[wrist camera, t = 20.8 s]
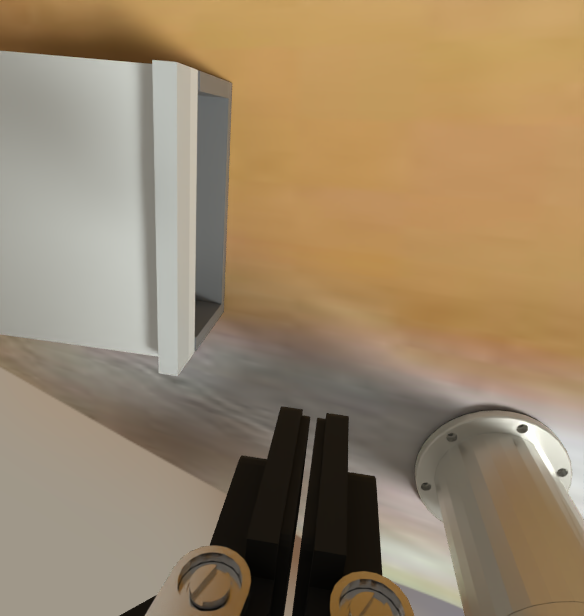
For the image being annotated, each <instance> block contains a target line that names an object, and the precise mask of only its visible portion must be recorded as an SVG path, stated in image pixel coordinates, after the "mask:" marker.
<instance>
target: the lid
mask: <svg viewBox="0 0 584 616" xmlns="http://www.w3.org/2000/svg"><path fill="white" fill-rule="evenodd" d="M197 103H198V70H196V69H194V68H191V67H188V66H186V65H183V64H181V63H178V62H170V61H159V60H152V64H147V63H135V62H124V61H112V60H101V59H90V58H78V57H67V56H55V55H44V54H32V53H21V52H10V51H0V334H1V335H8V336H15V337H22V338H29V339H36V340H43V341H50V342H57V343H65V344H72V345H79V346H86V347H93V348H100V349H107V350H114V351H121V352H129V353H136V354H143V355H150V356H157V357H158V369H159V374H166V375H173V376H178V375H179V374H180V372H181V371H182V369H183V368H184V367H185V365H186V364H187V362H188V361H189V360H190V358H191V357H192V355H193V354H194V346H195V265H196V184H197Z"/></svg>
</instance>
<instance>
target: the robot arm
mask: <svg viewBox="0 0 584 616" xmlns="http://www.w3.org/2000/svg"><path fill="white" fill-rule="evenodd" d="M302 412H303V410H302V409H295V408H288V407H281V408H280V412H279V416H278V420H277V423H276V427H275V431H274V435H273V439H272V443H271V446H270V450H269V454H268V458H267V459H261V458H254V457H248V456H241V457H240V459H239V462H238V465H237V468H236V471H235V473H234V476H233V479H232V482H231V485H230V488H229V491H228V494H227V497H226V500H225V503H224V505H223V508H222V511H221V514H220V517H219V520H218V523H217V526H216V529H215V531H214V534H213V537H212V540H211V543H210V546H203V547H200V548H198V549H195V550H192V551H190V552H189V553H188V554H186V555H185V556H183V557H182V558H181V559H180V560H179V561H178V562H177V564H176V565H175V566H174V567H173V569H172V571H171V572H170V574H169V576H168V578H167V579H166V581H165V582H164V584H163V586H162V588H161V589H160V591H159V593H158V594H157V595H156V596H154V597H152V598H150V599H149V600H147V601H145V602H143V603H141V604H139V605H138V606H136V607H135V608H132V609H131V610H129V611H127V612H125V613H123V614H121V615H120V616H284V610H285V604H286V596H287V590H288V583H289V576H290V569H291V562H292V554H293V547H294V540H295V534H296V527H297V520H298V512H299V505H300V497H301V489H302V481H303V473H304V465H305V456H306V448H307V440H308V432H309V424H310V417H309V416H302ZM348 425H349V417H348V416H343V415H336V414H329V413H327V414H326V419H322V418H317V424H316V432H315V440H314V447H313V455H312V463H311V470H310V478H309V486H308V493H307V501H306V509H305V517H304V525H303V533H302V541H301V550H300V557H299V565H298V573H297V581H296V589H295V597H294V604H293V613H292V616H414V613H413V610H412V608H411V605H410V603H409V600H408V598H407V597H406V596H405V594H404V593H403V592H402V590H401V589H400V588H399V587H398V586H397V585H396V584H394V583H393V582H392V581H391V580H389V579H388V578H386V577H383V576H382V564H381V549H380V533H379V518H378V503H377V487H376V478H375V476H370V475H363V474H357V473H350V472H348ZM571 480H572V466H571V461H570V458H569V456H568V453H567V451H566V449H565V448H564V446H563V444H562V443H561V441H560V440H559V439H558V437H557V436H556V435H555V434H554V433H553V432H552V431H551V430H550V429H549V428H548V427H546V426H545V425H543V424H542V423H541V422H539V421H537V420H535V419H533V418H531V417H528V416H526V415H522V414H519V413H515V412H509V411H500V410H492V411H480V412H475V413H470V414H466V415H463V416H461V417H458V418H456V419H453V420H451V421H450V422H448V423H446V424H444V425H443V426H441V427H440V428H439V429H437V430H436V431H435V432H434V433H433V434H432V435H430V437H429V438H428V439H427V440H426V442H425V443H424V444H423V446H422V448H421V450H420V452H419V454H418V456H417V460H416V464H415V481H416V486H417V490H418V493H419V496H420V498H421V500H422V502H423V503H424V505H425V506H426V508H427V509H428V510H429V511H430V512H431V513H432V514H433V515H434V516H435V517H436V518H437V519H439V520H440V521H442V522H443V523H444V528H445V532H446V536H447V541H448V545H449V550H450V554H451V558H452V563H453V567H454V571H455V576H456V580H457V584H458V589H459V593H460V597H461V602H462V606H463V611H464V615H465V616H584V519H583V517H582V515H581V514H580V512H579V510H578V509H577V507H576V505H575V504H574V502H573V500H572V499H571V497H570V495H569V494H568V491H569V488H570V486H571Z"/></svg>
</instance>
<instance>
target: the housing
mask: <svg viewBox="0 0 584 616" xmlns="http://www.w3.org/2000/svg"><path fill="white" fill-rule="evenodd" d="M231 102H232V83H231V82H228V81H225V80H223V79H220V78H217V77H215V76H212V75H210V74H207V73H204V72H202V71H198V103H197V184H196V265H195V346H194V350H195V351H196V350H197V349H198V347H199V346H200V345H201V343H202V342H203V340H204V339H205V338H206V336H207V335H208V333H209V332H210V330H211V329H212V328H213V326H214V325H215V323H216V322H217V321H218V319H219V318H220V316H221V315H222V314H223V312H224V290H225V263H226V236H227V209H228V182H229V156H230V129H231Z"/></svg>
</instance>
